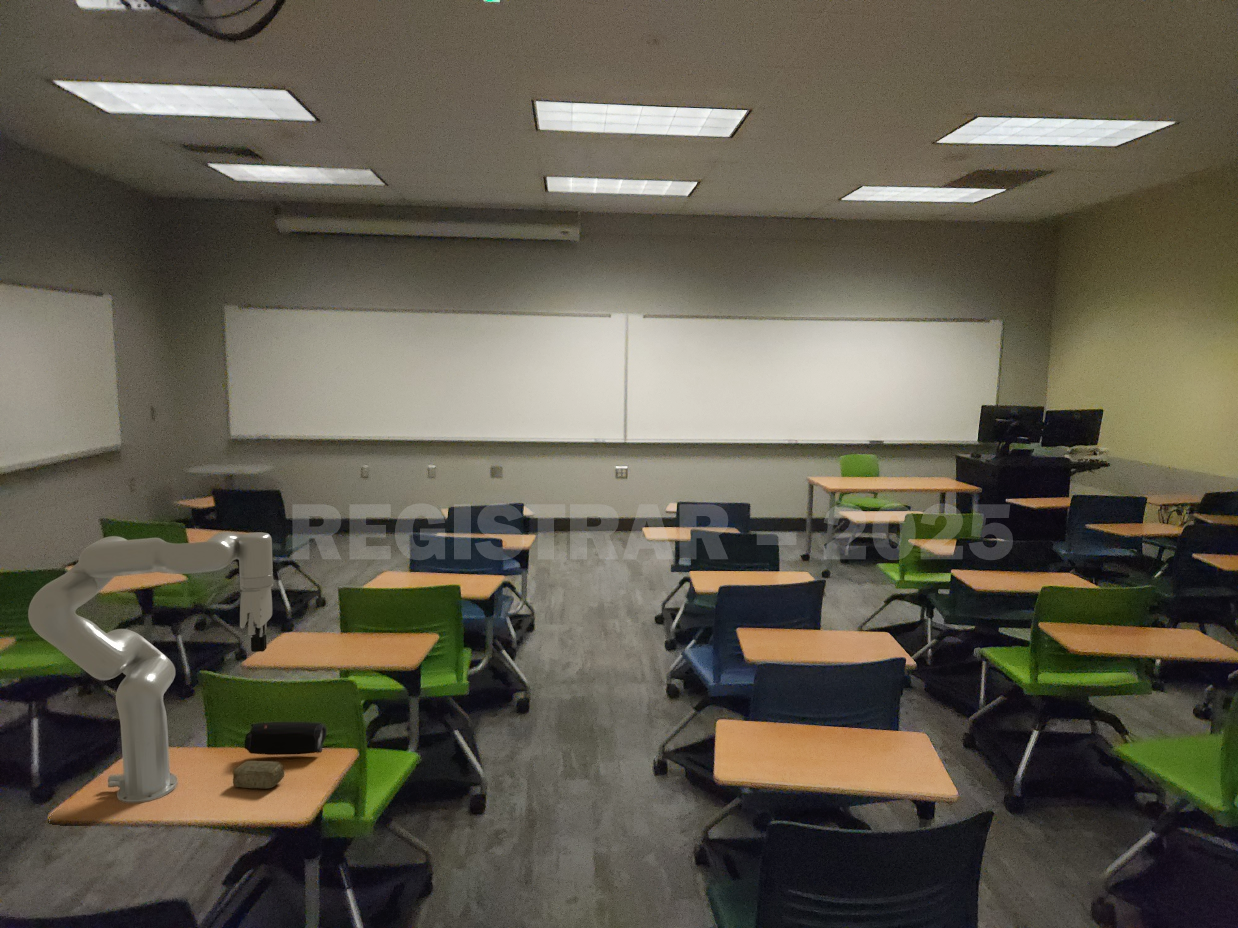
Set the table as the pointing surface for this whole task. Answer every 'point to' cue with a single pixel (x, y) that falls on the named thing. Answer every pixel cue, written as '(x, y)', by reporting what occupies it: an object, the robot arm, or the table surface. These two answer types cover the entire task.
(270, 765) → the stone block
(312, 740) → the portable speaker
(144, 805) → the table surface
